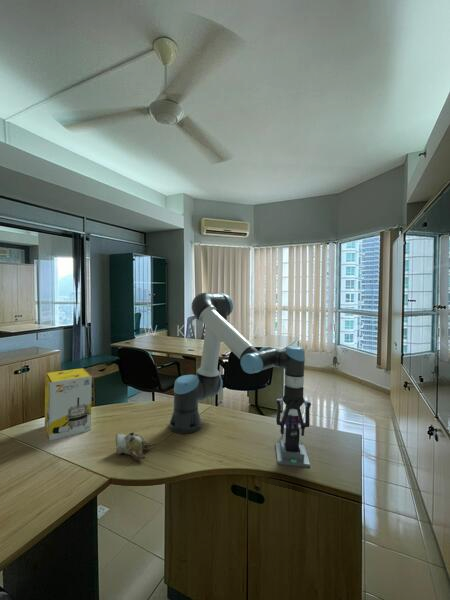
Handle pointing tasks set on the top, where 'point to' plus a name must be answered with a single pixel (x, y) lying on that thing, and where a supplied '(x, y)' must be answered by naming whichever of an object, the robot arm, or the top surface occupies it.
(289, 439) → the two-way radio
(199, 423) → the robot arm
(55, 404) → the packaging box
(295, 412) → the pill bottle
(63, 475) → the top surface
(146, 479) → the top surface
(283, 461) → the charging cradle
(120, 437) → the ceramic sculpture
